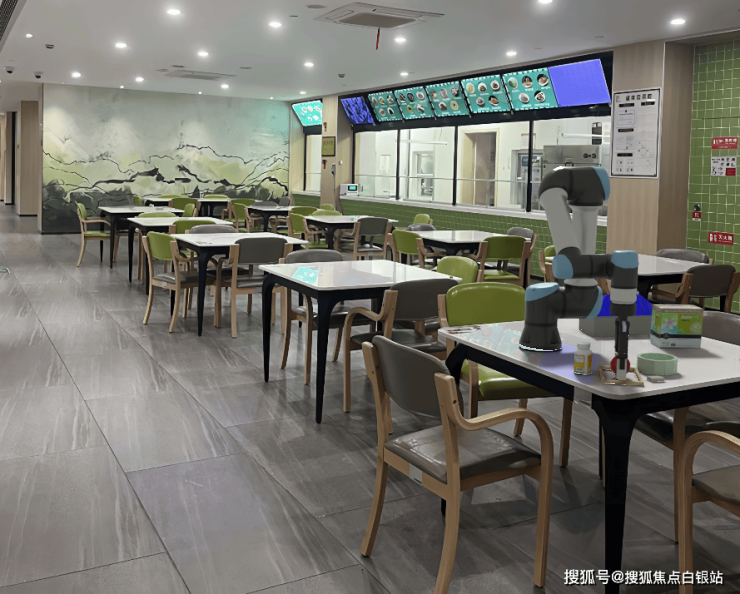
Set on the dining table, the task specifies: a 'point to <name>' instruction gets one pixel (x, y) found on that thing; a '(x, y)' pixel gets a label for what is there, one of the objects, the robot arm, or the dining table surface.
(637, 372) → the picture frame
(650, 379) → the stone
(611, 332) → the house
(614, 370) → the onion
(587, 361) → the supplement bottle
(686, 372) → the dining table surface
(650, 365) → the bowl
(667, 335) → the tea box
